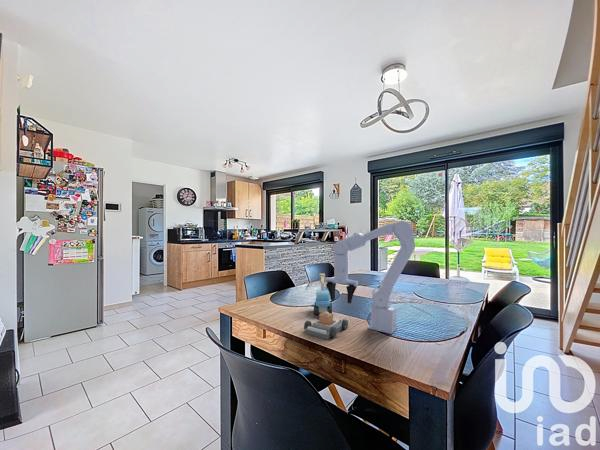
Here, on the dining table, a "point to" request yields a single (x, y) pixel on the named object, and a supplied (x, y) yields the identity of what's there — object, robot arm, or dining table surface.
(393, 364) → the dining table surface
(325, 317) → the block
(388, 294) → the robot arm
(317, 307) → the toy excavator
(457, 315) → the dining table surface
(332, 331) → the chassis
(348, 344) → the dining table surface
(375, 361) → the dining table surface
